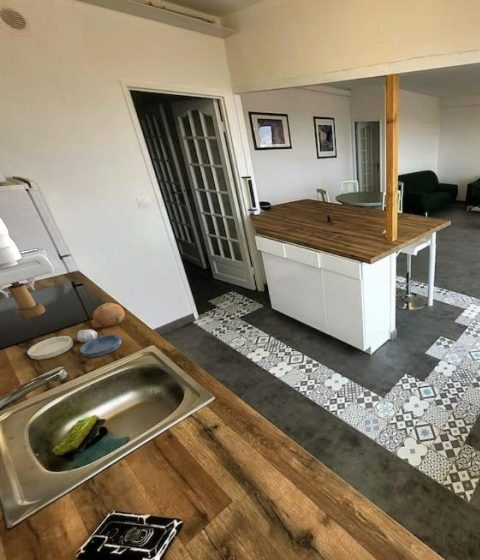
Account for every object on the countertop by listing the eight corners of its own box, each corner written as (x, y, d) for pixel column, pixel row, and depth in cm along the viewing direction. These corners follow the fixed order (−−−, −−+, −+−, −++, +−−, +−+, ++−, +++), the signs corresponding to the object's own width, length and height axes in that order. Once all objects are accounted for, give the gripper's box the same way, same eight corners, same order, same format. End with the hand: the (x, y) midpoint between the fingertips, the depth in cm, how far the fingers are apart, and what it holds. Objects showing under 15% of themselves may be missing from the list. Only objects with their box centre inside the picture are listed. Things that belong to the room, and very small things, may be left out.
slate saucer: (92, 361, 111) (89, 357, 110) (76, 352, 115) (73, 347, 114) (128, 344, 120) (126, 339, 119) (112, 335, 124) (110, 331, 123)
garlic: (76, 346, 118) (70, 335, 116) (82, 338, 122) (76, 327, 120) (96, 342, 120) (90, 331, 118) (101, 335, 125) (96, 324, 122)
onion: (113, 317, 136) (105, 297, 132) (133, 319, 135) (125, 299, 131) (91, 329, 128) (81, 309, 123) (113, 332, 127) (103, 311, 122)
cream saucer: (38, 364, 109) (35, 359, 108) (24, 354, 113) (21, 349, 112) (80, 345, 118) (77, 341, 117) (65, 337, 123) (62, 332, 122)
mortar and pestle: (45, 307, 113) (21, 261, 105) (45, 314, 108) (20, 267, 101) (18, 313, 108) (-9, 266, 101) (17, 321, 104) (-12, 272, 96)
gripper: (38, 244, 109) (56, 280, 115) (-55, 264, 92) (-29, 304, 98) (47, 247, 106) (64, 283, 112) (-48, 268, 89) (-21, 309, 95)
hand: (20, 293), depth 105 cm, fingers closed on mortar and pestle, 4 cm apart
